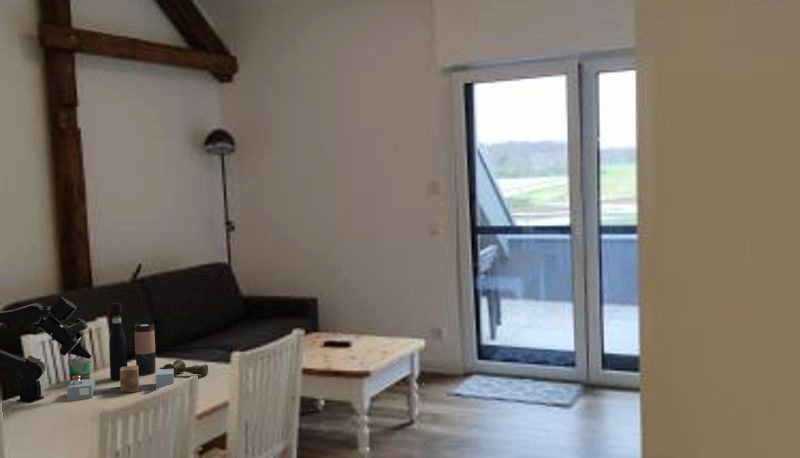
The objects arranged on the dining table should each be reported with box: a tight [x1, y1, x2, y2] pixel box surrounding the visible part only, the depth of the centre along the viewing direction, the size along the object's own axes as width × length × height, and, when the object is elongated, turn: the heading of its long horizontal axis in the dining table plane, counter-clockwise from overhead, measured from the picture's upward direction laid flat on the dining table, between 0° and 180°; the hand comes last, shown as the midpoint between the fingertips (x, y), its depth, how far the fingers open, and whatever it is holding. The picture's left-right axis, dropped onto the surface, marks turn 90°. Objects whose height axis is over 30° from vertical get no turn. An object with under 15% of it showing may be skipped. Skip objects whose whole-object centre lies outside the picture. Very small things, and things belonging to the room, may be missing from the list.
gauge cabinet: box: [66, 378, 96, 401], centre depth 262 cm, size 8×10×4 cm
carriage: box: [119, 365, 140, 394], centre depth 266 cm, size 6×6×8 cm
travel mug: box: [134, 322, 156, 376], centre depth 292 cm, size 8×8×20 cm
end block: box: [155, 369, 175, 390], centre depth 270 cm, size 6×8×6 cm
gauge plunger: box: [72, 375, 81, 385], centre depth 261 cm, size 3×3×5 cm
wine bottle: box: [108, 302, 128, 381], centre depth 284 cm, size 6×6×30 cm
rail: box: [93, 383, 157, 396], centre depth 266 cm, size 22×3×2 cm, turn 106°
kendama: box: [159, 359, 209, 378], centre depth 288 cm, size 6×10×20 cm
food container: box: [67, 356, 93, 382], centre depth 282 cm, size 12×6×10 cm, turn 179°
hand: (90, 357), depth 262 cm, fingers closed
